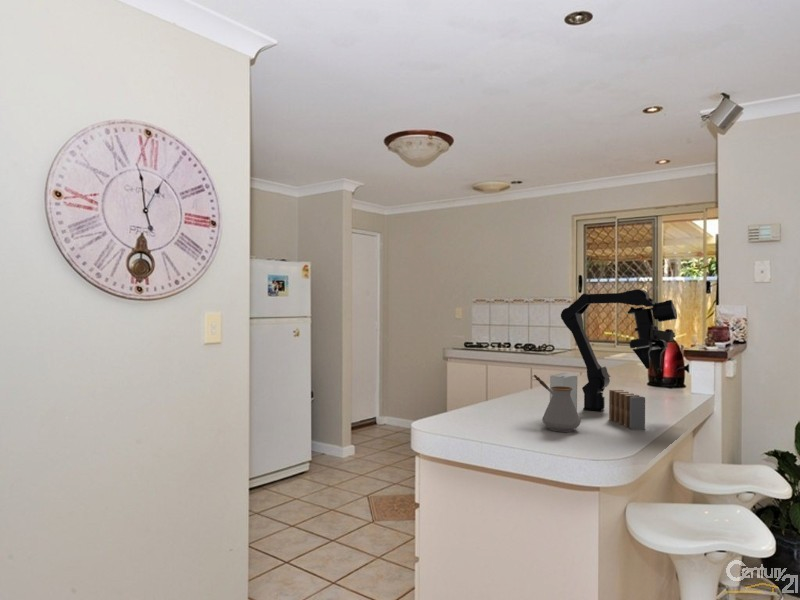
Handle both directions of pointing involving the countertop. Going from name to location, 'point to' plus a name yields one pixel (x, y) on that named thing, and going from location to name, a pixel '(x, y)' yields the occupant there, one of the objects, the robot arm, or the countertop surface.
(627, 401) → the domino
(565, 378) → the skincare box
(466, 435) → the countertop surface
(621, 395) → the domino
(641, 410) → the domino
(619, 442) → the countertop surface
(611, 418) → the domino
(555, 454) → the countertop surface
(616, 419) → the domino
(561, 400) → the coffee pot
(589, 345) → the robot arm
